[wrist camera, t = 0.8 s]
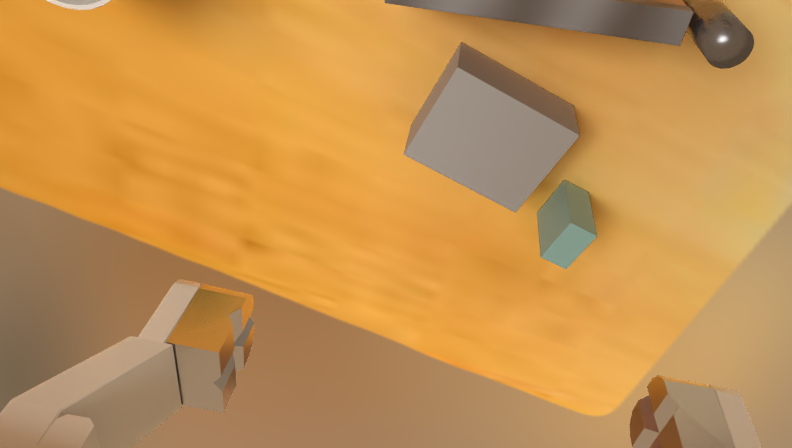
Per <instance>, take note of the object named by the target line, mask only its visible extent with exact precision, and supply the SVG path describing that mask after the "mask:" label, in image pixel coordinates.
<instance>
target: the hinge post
mask: <svg viewBox="0 0 792 448" xmlns="http://www.w3.org/2000/svg"><path fill="white" fill-rule="evenodd" d="M683 2H684V3H685V4H686V6H689V7H690V8H691V9H692V11H693V12H694V13H693V15H692V17H691V20H690V22H689V25H688V27H687V30H686V31H687V32H688V34H689V35H690V36H691V38H692V39H693V41H694V42H695V43H696V45H697V46H698V48H699V49H700V50H701V52H702V53H703V55H704V56H705V57H706V59H707V60H708V62H709V63H710V64H711V65H713V66H714V67H717V68H731V67H734V66H736V65H738V64H740V63H741V62H743V61H744V60H745V59H746V58H747V57H748V56H749V54H750V53H751V51H752V49H753V45H754V39H753V35H752V34H751V32H750V31H749V30H748V29H747V28H746V27H745V26H744V25H743V24H742V23H741V22H740V21H739V19H738V18H737V17H736V16H735V15H734V14H733V13H732V12H731V11H730V10H729V9H728V8H727V7H726V6H725V5H724V4H723V3H722V2H721V1H720V0H683Z"/></svg>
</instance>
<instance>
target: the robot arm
mask: <svg viewBox="0 0 792 448" xmlns="http://www.w3.org/2000/svg"><path fill="white" fill-rule="evenodd" d="M253 308H254V304H253V296H252V295H250V294H246V293H242V292H237V291H233V290H229V289H224V288H219V287H215V286H211V285H206V284H200V283H195V282H191V281H187V280H182V279H179V280H178V281H177V282H175V283H174V284H173V285H172V287H171V288H170V290H169V291H168V293H167V294H166V296H165V297H164V299H163V300H162V302H161V303H160V305H159V306H158V308H157V309H156V311H155V312H154V314H153V315H152V317H151V318H150V320H149V321H148V323H147V324H146V326H145V327H144V329H143V330H142V332H141V333H140V335H139V336H138V337H133V336H130V337H128V338H126V339H124V340H123V341H120V342H119V343H117V344H115V345H113V346H111V347H109V348H107V349H106V350H104V351H102V352H100V353H98V354H96V355H94V356H92V357H91V358H88V359H87V360H85V361H83V362H81V363H79V364H77V365H75V366H73V367H72V368H70V369H68V370H66V371H64V372H62V373H60V374H58V375H56V376H55V377H53V378H51V379H49V380H47V381H45V382H43V383H41V384H40V385H38V386H36V387H34V388H32V389H30V390H28V391H26V392H25V393H23V394H21V395H19V396H17V397H15V398H13V399H12V400H11V401H10V402H9V403H8V405H7V406H6V407H5V408H4V409H3V411H2V412H1V413H0V448H131V447H132V446H133V445H135V444H136V443H137V442H139V441H140V440H141V439H142V438H144V437H145V436H146V435H147V434H149V433H150V432H151V431H153V430H154V429H155V428H156V427H158V426H159V425H160V424H161V423H163V422H164V421H165V420H167V419H168V418H169V417H170V416H172V415H173V414H174V413H175V412H177V411H178V410H179V409H181V408H182V405H185V406H191V407H197V408H202V409H207V410H213V411H219V412H224V411H225V409H226V407H227V404H228V402H229V400H230V398H231V395H232V393H233V391H234V389H235V387H236V372H237V371H239V370H241V369H242V368H244V366H245V364H246V362H247V359H248V357H249V354H250V351H251V347H252V343H253V337H254V322H253V321H252V320H251V318H250V315H251V313H252V310H253ZM647 388H648V392H649V396H647V397H645V398H643V399H640V400H639V401H638V402H637V404H636V406H635V407H634V409H633V411H632V416H631V421H630V437H631V443H632V447H633V448H762V447H761V444H760V442H759V439H758V437H757V434H756V432H755V429H754V427H753V424H752V422H751V419H750V417H749V414H748V412H747V409H746V407H745V404H744V402H743V399H742V397H741V395H740V394H739V393H738V392H737V391H736V390H732V389H727V388H722V387H716V386H711V385H706V384H702V383H697V382H691V381H685V380H681V379H675V378H670V377H665V376H659V375H658V376H656V377H654V378H652V380H651V382H650V383H649V385H648V386H647Z"/></svg>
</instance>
